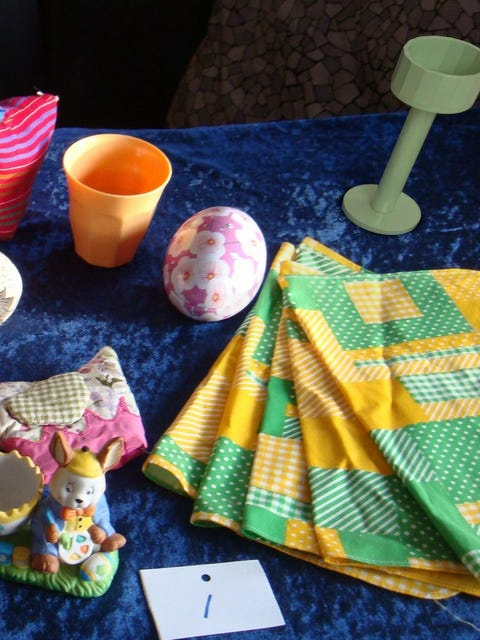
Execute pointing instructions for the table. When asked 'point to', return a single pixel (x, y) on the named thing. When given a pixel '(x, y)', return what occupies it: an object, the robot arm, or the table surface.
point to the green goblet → (416, 126)
